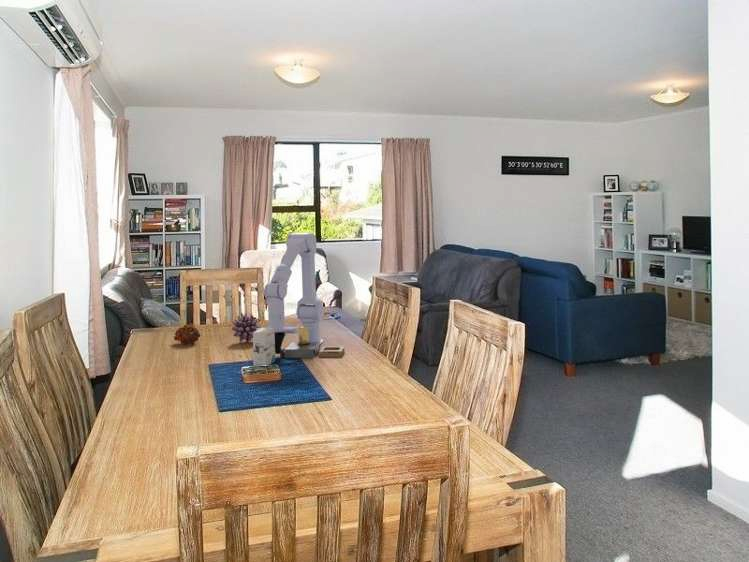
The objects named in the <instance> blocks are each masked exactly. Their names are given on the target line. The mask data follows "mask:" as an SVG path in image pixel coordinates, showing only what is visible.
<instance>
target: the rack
mask: <svg viewBox="0 0 749 562" xmlns="http://www.w3.org/2000/svg"><path fill="white" fill-rule="evenodd" d="M344 353H345V346H322V347H321V348H320V349H319V351H318V356H319V358H342V357H343V356H344Z"/></svg>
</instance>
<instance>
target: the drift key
mask: <svg viewBox="0 0 749 562" xmlns="http://www.w3.org/2000/svg"><path fill="white" fill-rule="evenodd" d="M285 349H286V348H285V347H281V349H280V354H279V357H280V358H285Z"/></svg>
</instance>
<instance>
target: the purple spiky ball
mask: <svg viewBox="0 0 749 562" xmlns="http://www.w3.org/2000/svg"><path fill="white" fill-rule="evenodd" d="M236 318H237V319H236ZM236 318H235V319H233V320H234V321H232V324H233V325H234V326H231V330H232V331H234V334H232V335H233V338H235V337H236V338H238V337H239V339H238V340H239V341H240V342H243V340H245V341H246V343H249V342H251V341H252V339H253V332H255V331H256V329H257V328H262V325H261V326H260V325H258V322H259V320H260V318H254V315H253V314H251V313H250V314H249V315H247V313H246V312H244V314H243V313H242V314H241V316H239V315H237V317H236Z"/></svg>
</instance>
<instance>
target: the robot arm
mask: <svg viewBox="0 0 749 562" xmlns="http://www.w3.org/2000/svg"><path fill="white" fill-rule="evenodd" d="M285 244H286V250H285V253H284V256H283V259H282V262H281V264H280V265H278V266H276V269H275V271H274V273H273V276H272V277H271V280H270V281H269V282H268V283H266V285H265V286H264V290H263V295H264V297H265V302H266V304H267V317H268V327H265V328H274V332H275V355H280V349H281V348H282V345H283V343H284V339H285V337H286V334H294V335H295V334H296V335H297V334H298V326H296V327H293V326H286V324H285V323H286V320H285V316H286V315H285V298H286V296H287V294H288V286H289V285H288V282H289V280H290V278H291V276H292V273H293V271H292V269H291V268H292V266H293V265H294V262H295V260H296V259H297V257H298V256H300V257H301V260H300V262H301V284H302V285H301V286H302V290H301V291H302V297H301V298H300V299H299V300H298V301H297V308H296V311H295V312H296V317H297V319H298V320H299V322H301V326H308V342H319V346H320V345H321V344H322V343H323V342H324V339H322V334H321V333H322V329H321V326H322V325H321V322H322V320H323V319H324V317H325V308H324V304H323V300H322V299H320V297H317V288H316V285H317V282H316V261H315V258H316V257H315V255H316V254H317V238H316V236H315V234H313V232H304V233H303V232H300V233H299V232H298V233H296V232H295V233H293V232H291V233H288V235H287V237H286V239H285ZM261 328H262V327H261ZM261 328H257V329H256V331H257V330H259V329H261Z"/></svg>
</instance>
